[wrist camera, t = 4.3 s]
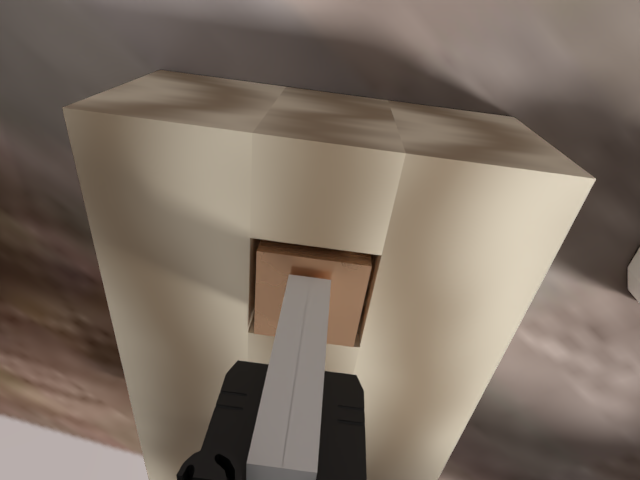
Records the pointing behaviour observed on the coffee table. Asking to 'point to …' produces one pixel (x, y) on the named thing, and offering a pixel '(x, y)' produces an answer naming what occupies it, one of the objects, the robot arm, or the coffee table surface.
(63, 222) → the coffee table surface
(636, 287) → the white cup
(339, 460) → the robot arm
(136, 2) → the coffee table surface
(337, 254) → the brown wooden peg
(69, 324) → the coffee table surface
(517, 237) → the press block
